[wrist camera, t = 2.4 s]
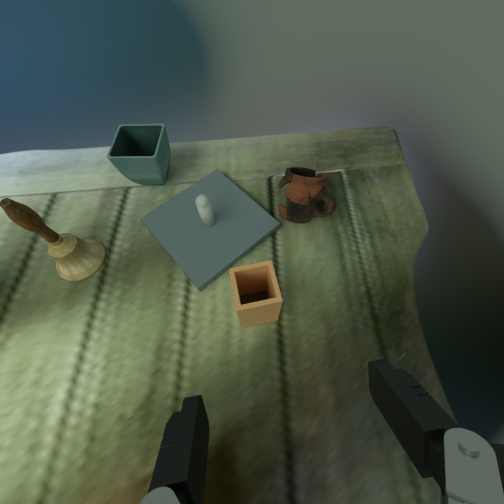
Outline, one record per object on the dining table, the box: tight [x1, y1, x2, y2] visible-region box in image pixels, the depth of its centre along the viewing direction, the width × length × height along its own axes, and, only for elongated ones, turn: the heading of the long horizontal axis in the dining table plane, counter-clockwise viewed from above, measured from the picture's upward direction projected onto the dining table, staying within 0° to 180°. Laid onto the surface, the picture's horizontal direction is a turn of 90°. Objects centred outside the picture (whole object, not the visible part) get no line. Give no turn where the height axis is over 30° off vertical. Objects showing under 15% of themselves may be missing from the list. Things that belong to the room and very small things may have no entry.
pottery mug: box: [279, 167, 336, 223], centre depth 48 cm, size 12×10×8 cm
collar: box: [229, 260, 283, 328], centre depth 37 cm, size 6×6×10 cm
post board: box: [140, 169, 280, 291], centre depth 45 cm, size 18×18×8 cm
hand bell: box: [0, 198, 105, 281], centre depth 39 cm, size 8×8×16 cm
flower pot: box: [107, 124, 170, 184], centre depth 51 cm, size 9×9×9 cm
